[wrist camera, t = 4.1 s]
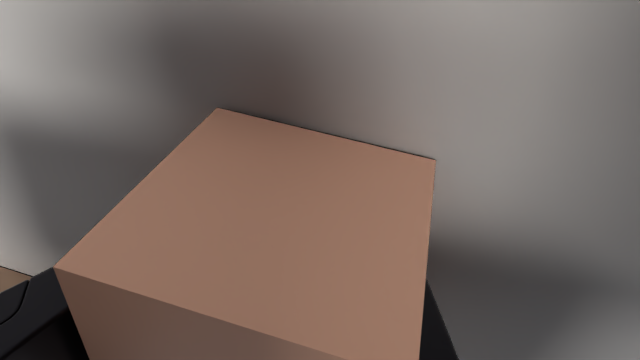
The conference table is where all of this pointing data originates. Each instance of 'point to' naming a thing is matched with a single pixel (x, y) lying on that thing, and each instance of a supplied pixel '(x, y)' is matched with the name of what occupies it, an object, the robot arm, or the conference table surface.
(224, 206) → the terracotta block
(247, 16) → the conference table surface
